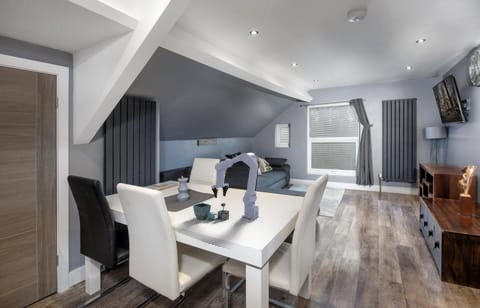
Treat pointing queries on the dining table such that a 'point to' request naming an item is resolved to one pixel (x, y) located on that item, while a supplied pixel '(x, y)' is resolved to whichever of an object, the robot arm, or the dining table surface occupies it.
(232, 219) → the dining table surface
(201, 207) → the flower pot
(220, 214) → the press pot
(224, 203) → the plunger
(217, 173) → the robot arm
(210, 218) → the teal rounded part
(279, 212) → the dining table surface
